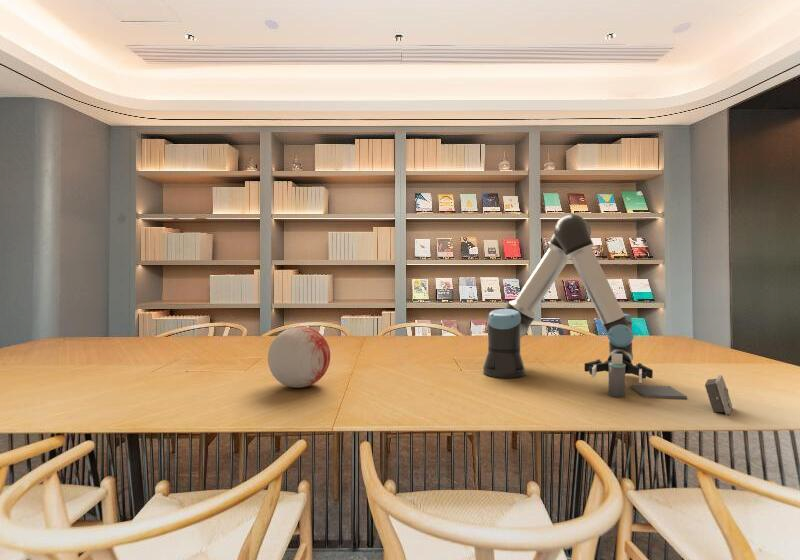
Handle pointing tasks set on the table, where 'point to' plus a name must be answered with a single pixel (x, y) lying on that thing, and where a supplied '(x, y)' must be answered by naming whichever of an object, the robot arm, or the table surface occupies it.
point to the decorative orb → (298, 357)
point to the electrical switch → (718, 395)
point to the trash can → (616, 377)
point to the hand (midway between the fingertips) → (616, 375)
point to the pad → (658, 391)
